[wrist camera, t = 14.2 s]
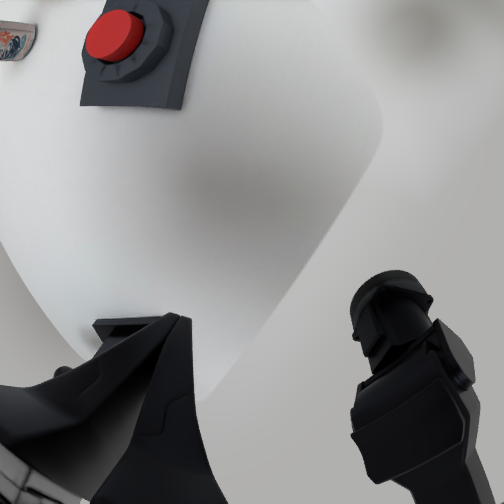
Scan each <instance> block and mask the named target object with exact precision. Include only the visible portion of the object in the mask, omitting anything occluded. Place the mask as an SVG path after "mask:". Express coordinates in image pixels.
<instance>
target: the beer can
mask: <svg viewBox="0 0 504 504" xmlns="http://www.w3.org/2000/svg"><path fill="white" fill-rule="evenodd" d="M34 38H35V27H34V25H33V24H26V23H19V22H10V21H0V61H18V60H20V59H22V58H23V57H24V56H25V55H26V53H27V52H28V51H29V49H30V47H31V46H32V43H33V41H34Z"/></svg>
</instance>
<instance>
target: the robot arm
mask: <svg viewBox="0 0 504 504" xmlns="http://www.w3.org/2000/svg"><path fill="white" fill-rule="evenodd" d="M383 288H384V290H383V291H381V289H383ZM428 300H429V301H428ZM432 303H433V298H432V296H431V295H428V294H424V293H420V292H416V291H412V290H408V289H404V288H400V287H396V286H392V285H387V284H380V285H378V287H377V289H376V291H375V293H374V295H373V297H372V299H371V301H370V303H369V304H368V305H367V306H366V307H365V309H364V311H363V313H362V315H361V317H360V319H359V321H358V322H357V324H356V329H355V331H354V333H353V334H352V337H353V340H354V341H359V342H361V346H362V350H363V354H364V356H365V357H368V359H369V363H370V367H371V371H372V374H373V376H371V377H370V378H369V379H367V380H366V381H365V382H364V381H363V382H361V383H360V384H359V385H358V387H357V393H356V399H355V403H354V407H353V408H352V409H351V411H350V414H351V422H352V428H353V433H352V434H351V438H352V439H353V440H354V442H355V443H356V445H357V446H358V448H359V450H360V452H361V454H362V457H363V460H364V464H365V468H366V472H367V475H368V477H369V478H370V479H371V480H372V481H373V482H374V483H375V484H381V483H383V482H386V481H388V480H392V481H394V482H396V483H397V484H399V485H401V486H403V487H404V488H406V489H408V490H409V491H410V493H411V494H412V497H413V499H414V502H415V504H495V501H494V497H493V494H492V491H491V488H490V485H489V482H488V479H487V477H486V474H485V471H484V469H483V466H482V464H481V461H480V459H479V456H478V454H477V451H476V448H475V444H476V438H477V432H478V424H479V416H480V402H479V400H478V397H477V395H476V394H475V392H474V390H473V387H472V385H473V384H474V383H475V371H474V362H473V357H472V355H471V354H470V352H469V351H468V349H467V348H466V346H465V345H464V343H463V341H462V340H461V339H460V338H459V337H458V336H457V335H456V334H455V333H454V332H453V331H452V330H451V329H450V328H448V327H447V326H446V325H445V324H444V323H443V322H442V321H441V320H439V319H438V318H437V319H436V320H435V321H434V322H433V324H432V322H431V320H430V318H429V317H428V315H427V311H428V310H429V308H430V306H431V304H432ZM358 335H359V336H358ZM82 498H84V499H85V500H88V501H90V504H228V502H227V501H226V498H225V497H224V495H223V493H222V491H221V489H220V487H219V486H218V484H217V482H216V480H215V478H214V475H213V473H212V470H211V468H210V465H209V462H208V459H207V455H206V451H205V448H204V444H203V441H202V437H201V433H200V430H199V425H198V420H197V416H196V407H195V395H194V378H193V351H192V319H191V318H188V317H184V316H180V315H178V314H174V313H171V312H170V313H167V314H165V315H164V316H162V317H161V318H159V319H157V320H156V321H154V322H152V323H151V324H149V325H147V326H146V327H144V328H142V329H141V330H139V331H137V332H136V333H134V334H133V335H131V336H129V337H128V338H126V339H124V340H123V341H121V342H119V343H118V344H116V345H114V346H113V347H111V348H109V349H108V350H106V351H104V352H103V353H101V354H99V355H98V356H96V357H94V358H92V359H91V360H89V361H87V362H86V363H84V364H82V365H80V366H78V367H76V368H74V369H72V370H70V371H68V372H66V373H64V374H61V375H59V376H57V377H55V378H52V379H50V380H48V381H45V382H43V383H41V384H38V385H36V386H32V387H25V388H20V387H11V386H4V385H0V504H80V501H81V499H82ZM501 504H504V502H503V503H501Z"/></svg>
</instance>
